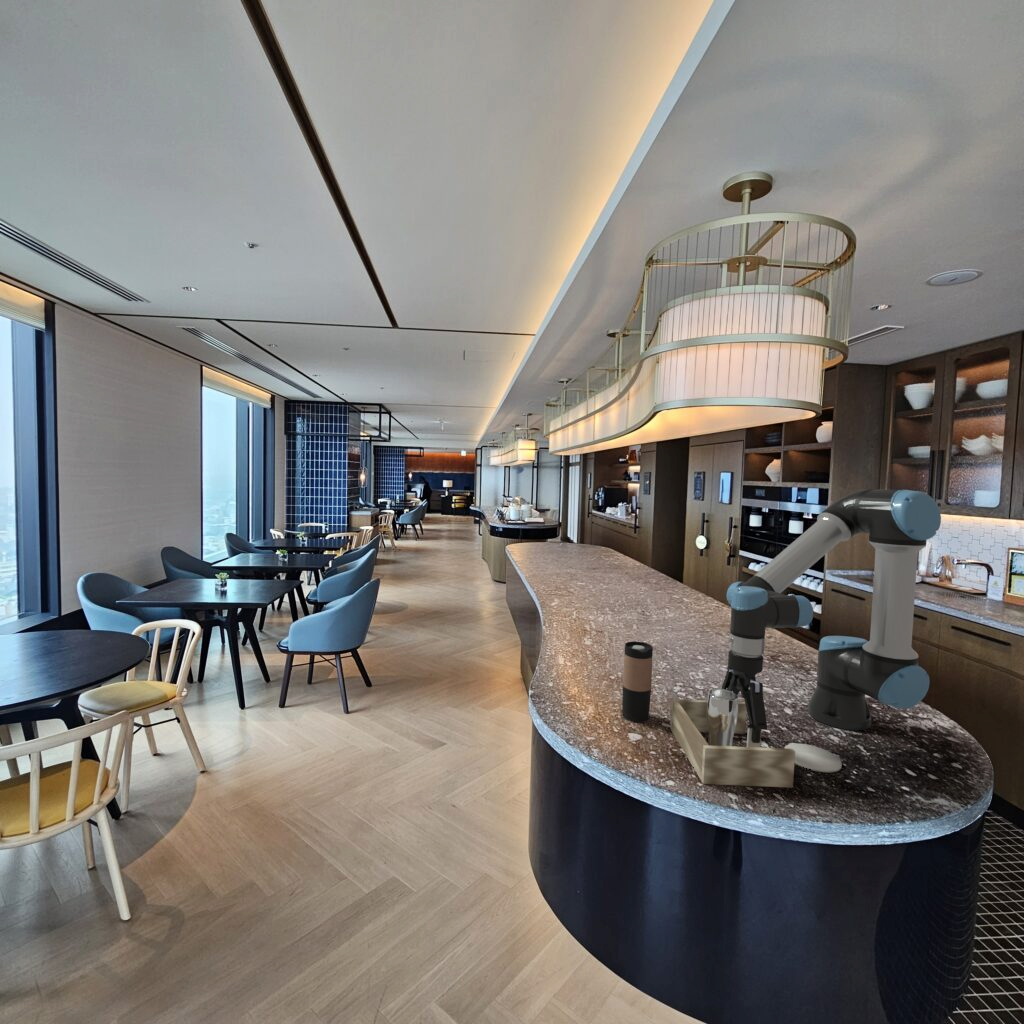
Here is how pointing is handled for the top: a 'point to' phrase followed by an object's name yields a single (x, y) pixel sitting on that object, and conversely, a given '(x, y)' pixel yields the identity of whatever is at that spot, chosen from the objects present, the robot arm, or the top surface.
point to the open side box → (728, 751)
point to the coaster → (815, 758)
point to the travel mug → (637, 681)
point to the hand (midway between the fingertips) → (740, 739)
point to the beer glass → (721, 716)
